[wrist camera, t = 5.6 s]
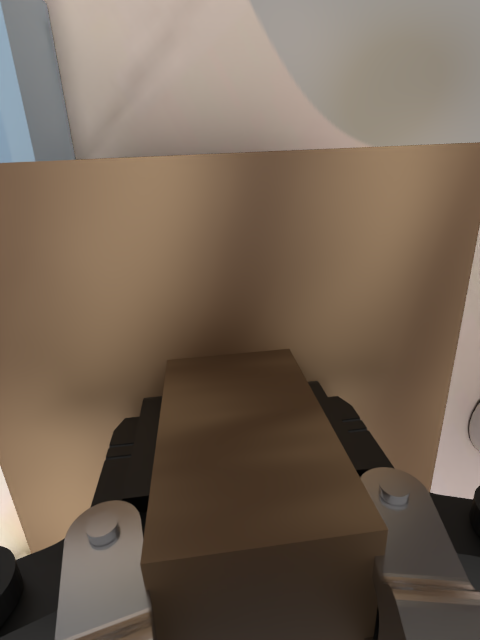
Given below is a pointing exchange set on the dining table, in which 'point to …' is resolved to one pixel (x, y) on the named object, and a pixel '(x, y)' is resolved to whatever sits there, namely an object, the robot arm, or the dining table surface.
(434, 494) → the robot arm
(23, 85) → the blue storage bin
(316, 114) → the dining table surface
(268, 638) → the walnut lid
